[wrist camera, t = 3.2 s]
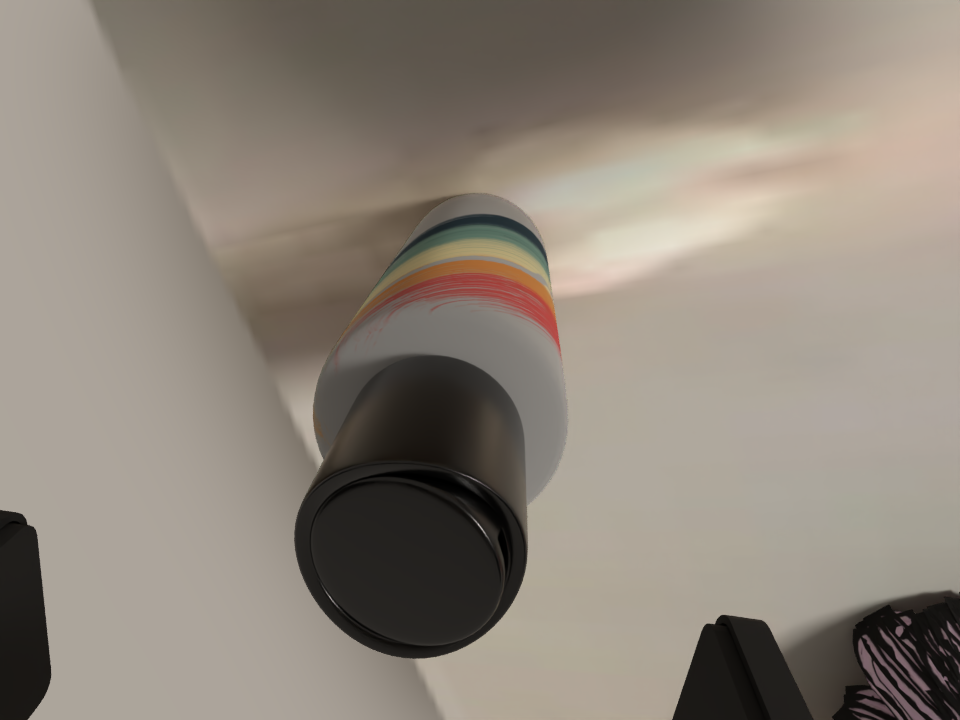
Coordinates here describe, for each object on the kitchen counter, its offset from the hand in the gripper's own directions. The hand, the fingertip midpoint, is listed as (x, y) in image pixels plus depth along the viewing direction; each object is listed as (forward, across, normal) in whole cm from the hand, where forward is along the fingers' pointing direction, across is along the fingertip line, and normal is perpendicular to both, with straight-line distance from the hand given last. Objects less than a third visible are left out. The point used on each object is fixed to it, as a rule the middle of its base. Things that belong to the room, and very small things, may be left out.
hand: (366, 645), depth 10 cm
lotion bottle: (+21, -1, -1) cm, 21 cm away
